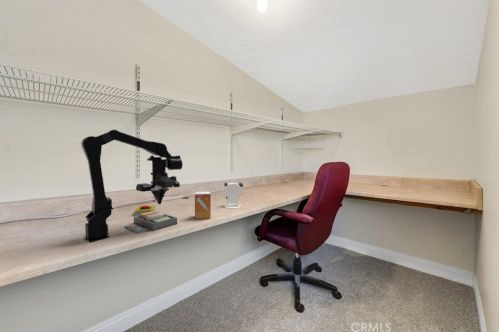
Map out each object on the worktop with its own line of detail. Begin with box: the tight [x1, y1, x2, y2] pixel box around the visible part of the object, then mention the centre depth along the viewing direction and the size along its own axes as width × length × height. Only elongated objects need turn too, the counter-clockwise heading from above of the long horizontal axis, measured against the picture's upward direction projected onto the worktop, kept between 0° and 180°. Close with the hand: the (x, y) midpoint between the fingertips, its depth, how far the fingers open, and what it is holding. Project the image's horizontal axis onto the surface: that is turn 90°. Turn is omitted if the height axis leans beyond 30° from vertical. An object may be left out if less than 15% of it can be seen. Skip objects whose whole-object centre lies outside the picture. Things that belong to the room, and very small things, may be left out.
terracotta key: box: [140, 210, 159, 218], centre depth 109 cm, size 7×4×2 cm, turn 144°
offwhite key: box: [146, 212, 165, 221], centre depth 106 cm, size 7×4×2 cm, turn 144°
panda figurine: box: [223, 182, 244, 209], centre depth 141 cm, size 12×11×15 cm
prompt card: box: [124, 223, 148, 234], centre depth 98 cm, size 4×12×1 cm, turn 53°
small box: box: [194, 191, 212, 220], centre depth 117 cm, size 8×6×13 cm
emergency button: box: [133, 204, 156, 218], centre depth 125 cm, size 9×4×15 cm
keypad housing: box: [133, 211, 178, 232], centre depth 106 cm, size 12×17×3 cm
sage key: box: [153, 217, 171, 223], centre depth 103 cm, size 7×4×2 cm, turn 144°
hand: (159, 204), depth 103 cm, fingers closed
